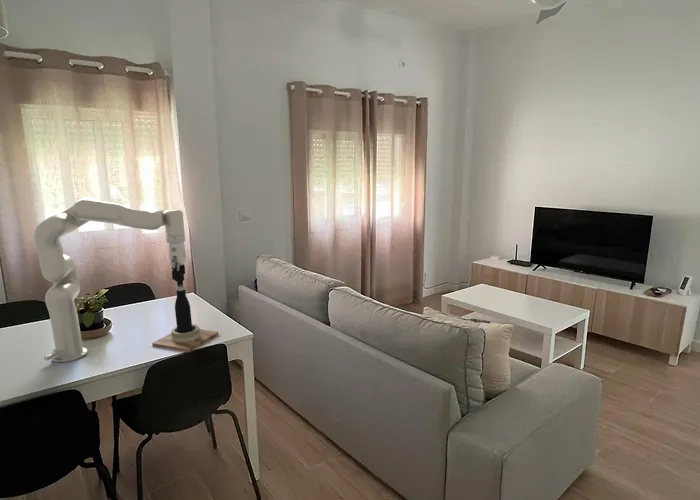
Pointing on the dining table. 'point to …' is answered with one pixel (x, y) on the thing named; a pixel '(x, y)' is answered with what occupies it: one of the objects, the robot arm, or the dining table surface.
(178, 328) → the wine bottle
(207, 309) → the dining table surface
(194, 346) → the bottle stand
